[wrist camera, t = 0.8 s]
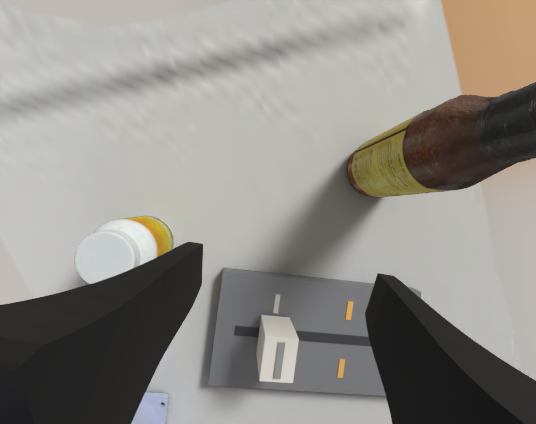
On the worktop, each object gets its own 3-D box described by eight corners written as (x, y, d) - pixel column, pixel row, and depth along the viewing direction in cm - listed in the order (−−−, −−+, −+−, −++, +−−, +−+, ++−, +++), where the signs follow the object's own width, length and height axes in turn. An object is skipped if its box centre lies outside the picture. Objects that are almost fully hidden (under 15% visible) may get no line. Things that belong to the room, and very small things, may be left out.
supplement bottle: (149, 276, 28) (104, 314, 19) (111, 241, 28) (44, 261, 18) (186, 240, 29) (160, 259, 19) (149, 204, 28) (102, 206, 19)
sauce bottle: (378, 207, 31) (626, 219, 11) (334, 177, 30) (512, 133, 10) (408, 159, 31) (706, 85, 11) (364, 128, 30) (599, -9, 11)
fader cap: (284, 354, 28) (293, 384, 24) (256, 352, 28) (259, 382, 24) (289, 317, 28) (299, 339, 24) (261, 314, 28) (265, 337, 23)
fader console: (397, 388, 32) (406, 397, 30) (209, 376, 30) (207, 386, 28) (412, 287, 32) (421, 292, 30) (223, 267, 29) (222, 271, 28)
